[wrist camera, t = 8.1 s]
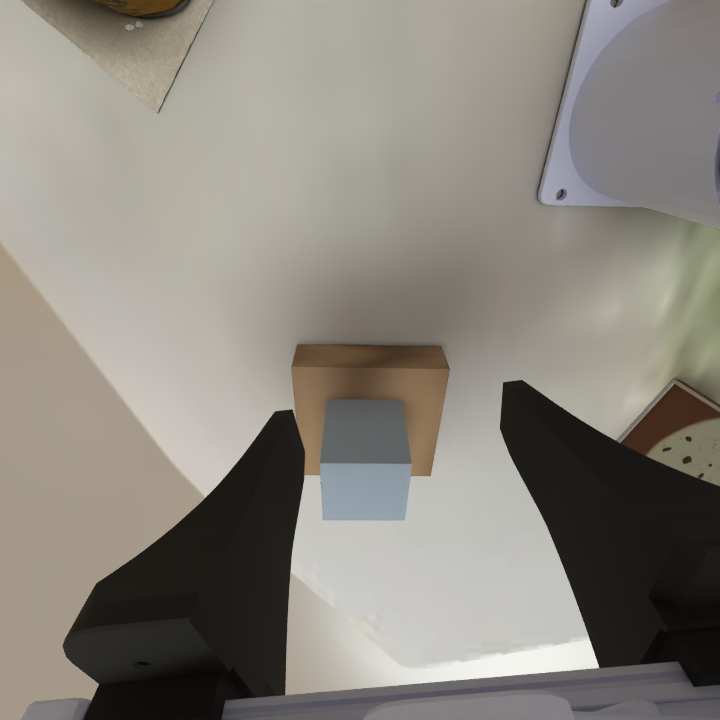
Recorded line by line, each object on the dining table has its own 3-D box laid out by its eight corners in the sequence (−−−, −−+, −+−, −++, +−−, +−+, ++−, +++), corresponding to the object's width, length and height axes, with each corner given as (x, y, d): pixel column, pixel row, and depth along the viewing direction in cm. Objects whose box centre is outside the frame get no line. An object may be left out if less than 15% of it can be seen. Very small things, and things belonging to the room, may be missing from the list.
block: (401, 399, 23) (411, 463, 18) (396, 452, 25) (404, 520, 21) (326, 399, 22) (319, 463, 18) (328, 452, 25) (323, 520, 21)
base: (441, 346, 23) (449, 369, 21) (425, 449, 28) (430, 476, 26) (297, 344, 23) (291, 366, 21) (305, 448, 28) (301, 474, 26)
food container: (641, 496, 31) (745, 633, 23) (577, 482, 30) (662, 621, 22) (764, 381, 25) (970, 513, 17) (689, 360, 24) (868, 488, 16)
